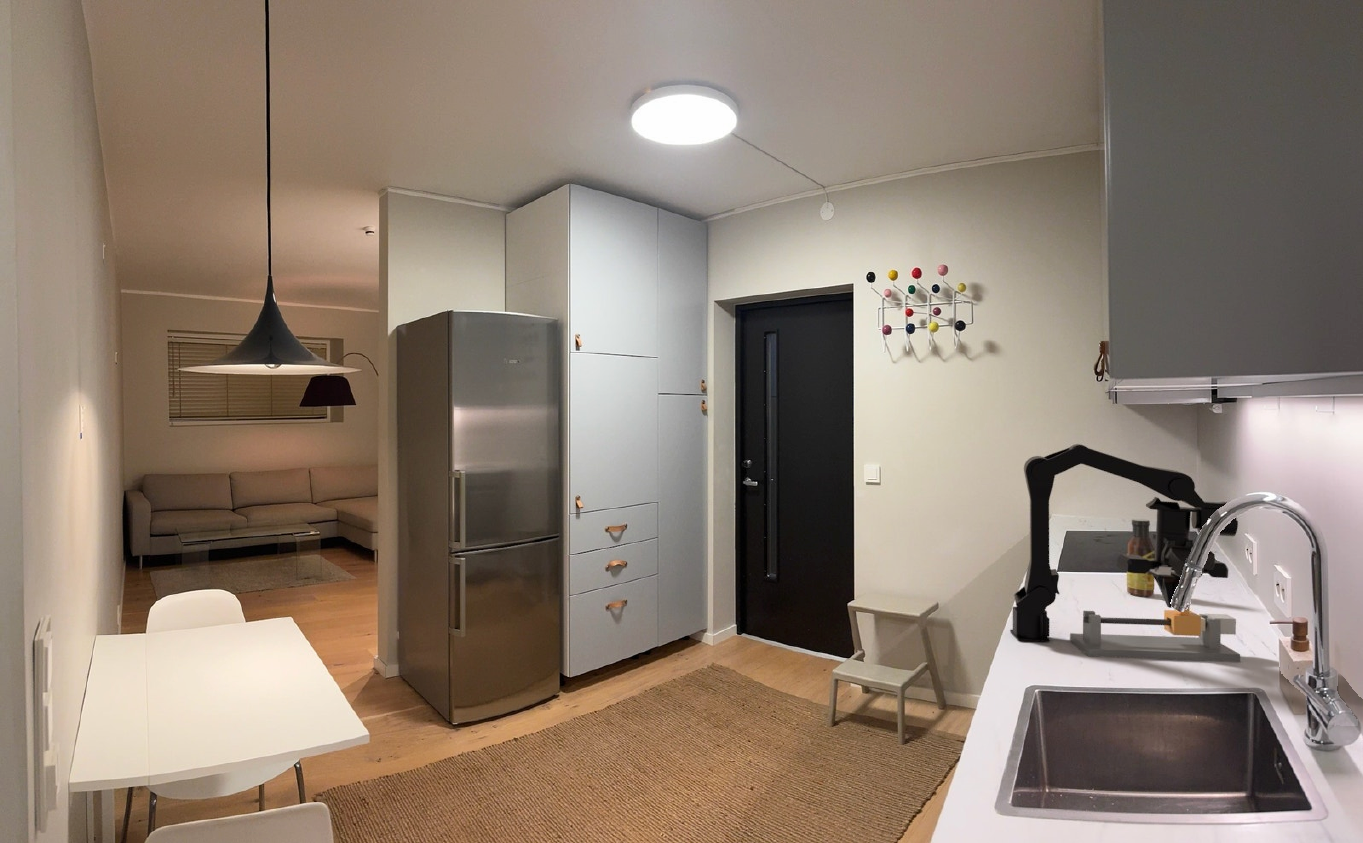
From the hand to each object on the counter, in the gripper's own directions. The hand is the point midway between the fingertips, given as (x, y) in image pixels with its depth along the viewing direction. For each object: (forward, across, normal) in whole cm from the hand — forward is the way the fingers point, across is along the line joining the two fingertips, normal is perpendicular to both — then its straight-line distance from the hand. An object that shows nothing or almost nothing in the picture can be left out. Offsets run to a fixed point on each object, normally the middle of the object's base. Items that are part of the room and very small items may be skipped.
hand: (1169, 607), depth 151 cm
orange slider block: (+5, +3, 0) cm, 6 cm away
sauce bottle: (+9, +15, +46) cm, 49 cm away
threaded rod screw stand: (+9, -3, 0) cm, 10 cm away
